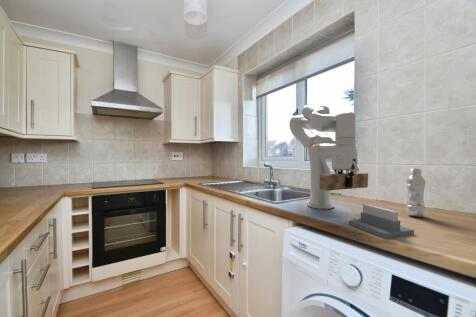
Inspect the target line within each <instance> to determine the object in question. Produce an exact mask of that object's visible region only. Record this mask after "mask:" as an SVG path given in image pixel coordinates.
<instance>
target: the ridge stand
mask: <svg viewBox="0 0 476 317" xmlns="http://www.w3.org/2000/svg"><path fill="white" fill-rule="evenodd" d="M348 225H349V226H351V225H352V226H351V227H354V226H355V227H354V228H357V227H358V229H359V228H360V230H362V229H363V231H364V230H365V232H367V233H370V234H372V233H373V235H375V236H378V237H381V238H383V239H391V238H392V239H393V237H394V238H399V236H400V237H405V236H406V237H407V236H412V235H415V229H412V228H410V227H405V226H402V225H401V219H399V211H396V210H392V209H388V208H384V207H381V206H376V205H373V204H370V203H369V204H368V203H365V204H362V212H360V218H359V219H352V220H351V219H350V220H348Z"/></svg>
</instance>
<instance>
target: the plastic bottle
mask: <svg viewBox="0 0 476 317" xmlns="http://www.w3.org/2000/svg"><path fill="white" fill-rule="evenodd" d="M409 170H410V172H409V173H410V175H409V176H408V177H407V178H406V181H405V182H406V188H407V201H406V202H407V203H406V206H405V207H406V208H405V210H406V213H407V215H408V216H412V217H413V218H414V217H416V218H417V217H419V218H422V217H424V216H425V215H426V207H425V198H424V197H425V196H424V194H425V188H426V179H425V178H424V177H423V176H422V175H421V174H422V169H421V168H410V169H409Z"/></svg>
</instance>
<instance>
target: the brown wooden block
mask: <svg viewBox="0 0 476 317" xmlns="http://www.w3.org/2000/svg"><path fill="white" fill-rule="evenodd" d="M345 177H346V172H345V173H344V172H343V173H341V174H336V173H331V174H320V189H321V190H326V191H328V190H331V191H337V190H338V191H340V190H351V189H353V190H354V189H364V188H365V189H366V188H369V173H367V172H357V173H356V174H355V175H354V177H353V186H352V187H345Z"/></svg>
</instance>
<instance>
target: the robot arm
mask: <svg viewBox="0 0 476 317" xmlns="http://www.w3.org/2000/svg"><path fill="white" fill-rule="evenodd" d="M289 129H290V130H289V131H290V133H291V134H292V135H293V137H294V138H295V139H297V141H299V142H300V144H301V145H302V146H303V147H304V149H305V150H306V151H308V160H309V165H310V167H309V168H310V196H308V197H307V199H308V200H309V202H307V207H310V208H313V209H320V210H329V209H330V210H332V209H333V208H335V204H333V203H331V202H332V201H331V199H332V198H331V196H332V195H331V193H332V192H331V191H332V190H328V191H326V190H321V189H320V174H332V173H331V169H332V170H333V171H334V174H341V173H344V171H345V173H346V177H345V187H352V186H353V177H354V175H355V174H356V173H359V172H360V169H359V167H358V149H357V146H356V114H355V112H352V111H344V112H338V113H337V114H330V108H329V106H328V105H326V104H314V103H312V104H311V103H310V104H307V105H305V106H304V107H303V108H302V109H301V115H299V114H298V115H294V116H292V118H290V119H289ZM312 130H315V131H317V132H322V133H323V132H324V133H331V132H332V133H335V135H334V137H335V138H334V137H333V136H331V135H329V134H315V133H313V132H312ZM328 163H331V169H330V167H329V165H328Z"/></svg>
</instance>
